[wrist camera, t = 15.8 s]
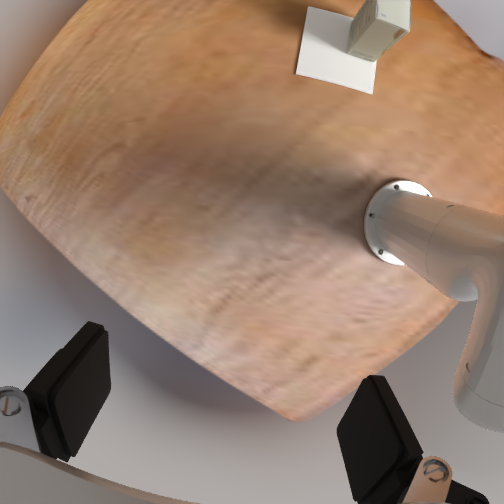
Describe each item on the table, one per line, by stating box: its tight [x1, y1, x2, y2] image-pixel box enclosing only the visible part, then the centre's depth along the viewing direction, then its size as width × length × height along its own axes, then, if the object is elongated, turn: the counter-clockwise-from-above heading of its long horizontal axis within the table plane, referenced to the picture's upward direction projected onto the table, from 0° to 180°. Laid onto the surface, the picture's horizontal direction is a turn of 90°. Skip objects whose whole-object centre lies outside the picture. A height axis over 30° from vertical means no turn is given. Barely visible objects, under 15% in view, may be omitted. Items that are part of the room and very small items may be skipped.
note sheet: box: [296, 6, 377, 95], centre depth 34 cm, size 11×12×1 cm
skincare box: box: [347, 0, 411, 62], centre depth 28 cm, size 6×4×12 cm
